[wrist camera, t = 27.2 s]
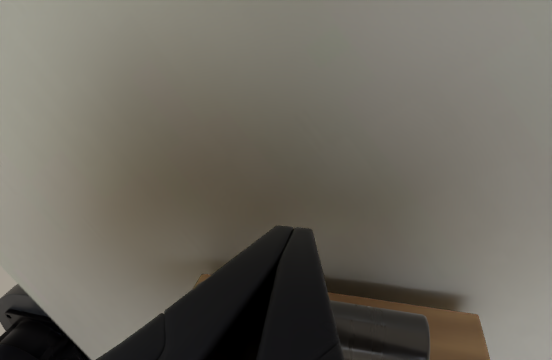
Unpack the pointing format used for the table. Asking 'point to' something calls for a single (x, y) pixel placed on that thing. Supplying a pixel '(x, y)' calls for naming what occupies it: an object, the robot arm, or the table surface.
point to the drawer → (403, 330)
